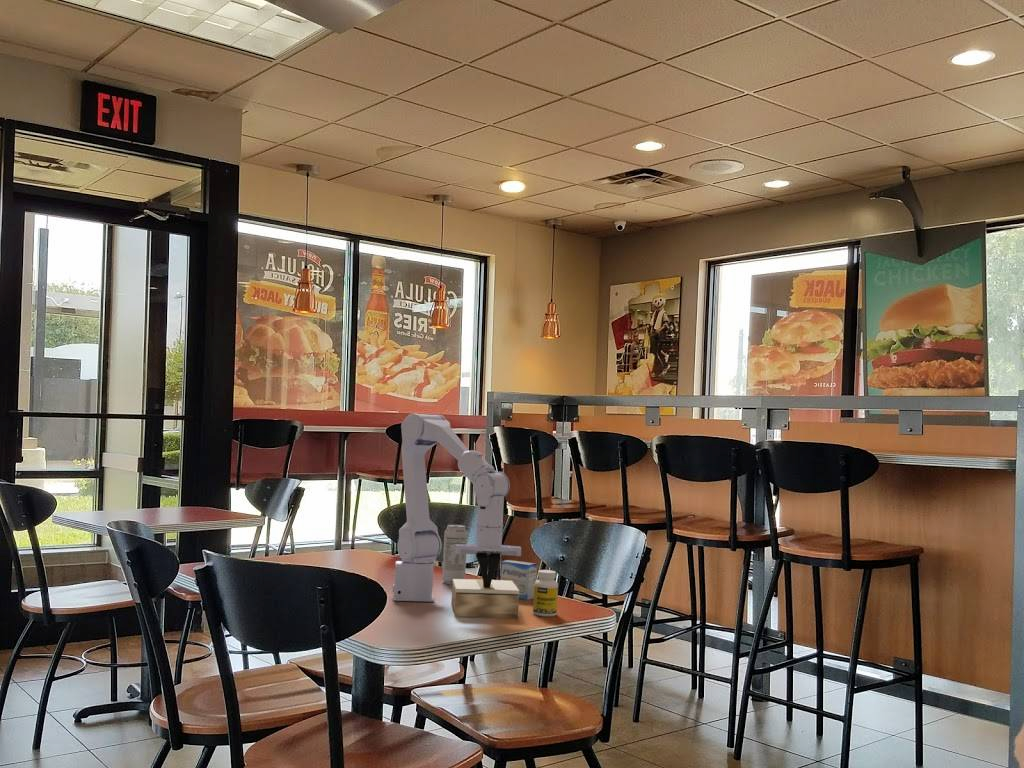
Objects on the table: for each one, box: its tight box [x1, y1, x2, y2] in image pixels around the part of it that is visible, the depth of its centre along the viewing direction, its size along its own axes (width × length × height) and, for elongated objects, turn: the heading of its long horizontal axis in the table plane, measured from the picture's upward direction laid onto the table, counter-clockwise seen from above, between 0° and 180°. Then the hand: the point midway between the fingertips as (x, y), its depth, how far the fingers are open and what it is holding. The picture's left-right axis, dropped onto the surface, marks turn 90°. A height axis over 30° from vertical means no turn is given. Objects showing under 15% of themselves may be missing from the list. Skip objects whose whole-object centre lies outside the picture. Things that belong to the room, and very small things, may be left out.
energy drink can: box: [441, 524, 468, 585], centre depth 249 cm, size 6×6×15 cm
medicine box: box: [500, 559, 538, 601], centre depth 234 cm, size 8×4×9 cm, turn 62°
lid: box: [453, 578, 519, 594], centre depth 215 cm, size 14×14×1 cm
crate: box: [450, 582, 520, 619], centre depth 215 cm, size 14×14×5 cm
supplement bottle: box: [532, 569, 559, 617], centre depth 214 cm, size 5×5×10 cm
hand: (486, 587), depth 211 cm, fingers closed, pressing on lid
